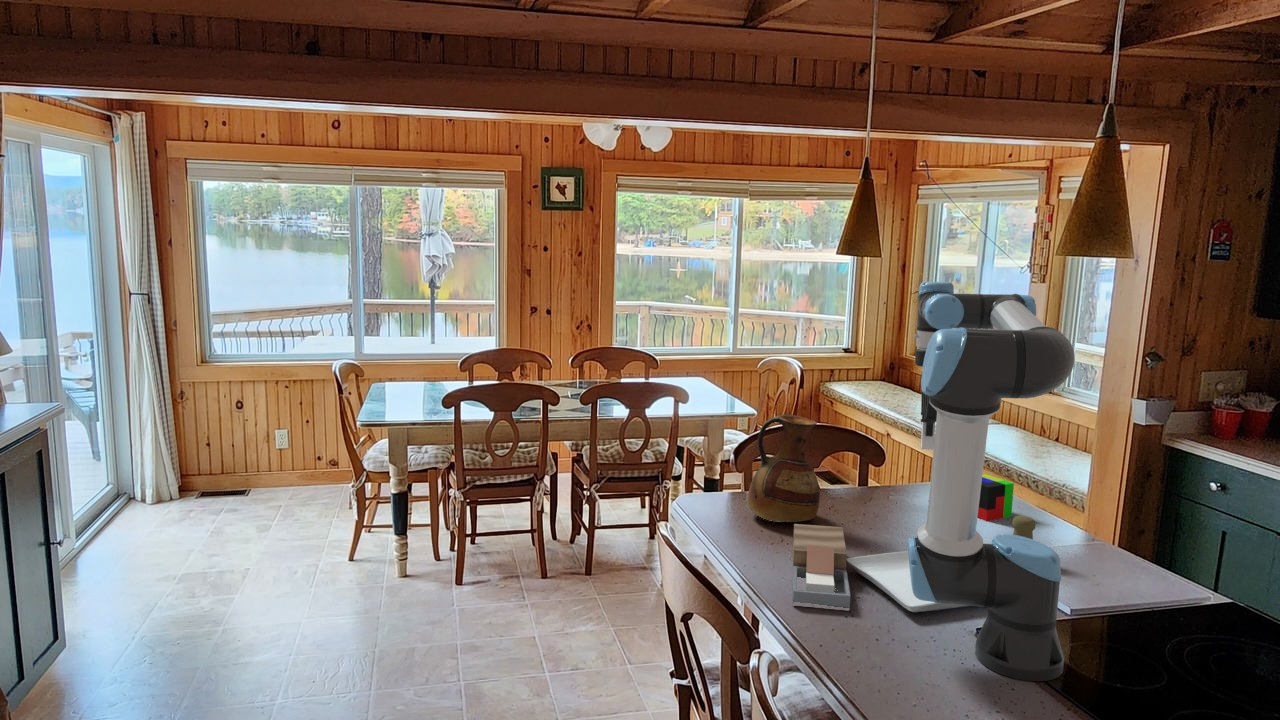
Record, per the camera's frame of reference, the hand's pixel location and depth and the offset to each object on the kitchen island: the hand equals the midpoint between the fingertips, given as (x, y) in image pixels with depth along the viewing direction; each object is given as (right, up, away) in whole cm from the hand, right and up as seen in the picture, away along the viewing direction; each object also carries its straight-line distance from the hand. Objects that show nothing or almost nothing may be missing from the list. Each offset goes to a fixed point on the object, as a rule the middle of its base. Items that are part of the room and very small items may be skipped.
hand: (927, 448), depth 190 cm
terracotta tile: (-26, -26, -3) cm, 37 cm away
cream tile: (-27, -28, -9) cm, 40 cm away
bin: (-27, -32, -9) cm, 43 cm away
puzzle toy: (+33, -24, +46) cm, 62 cm away
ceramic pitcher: (-27, -25, +42) cm, 55 cm away
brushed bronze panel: (-24, -29, +8) cm, 39 cm away
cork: (+28, -29, +12) cm, 42 cm away
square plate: (-2, -32, -4) cm, 32 cm away
